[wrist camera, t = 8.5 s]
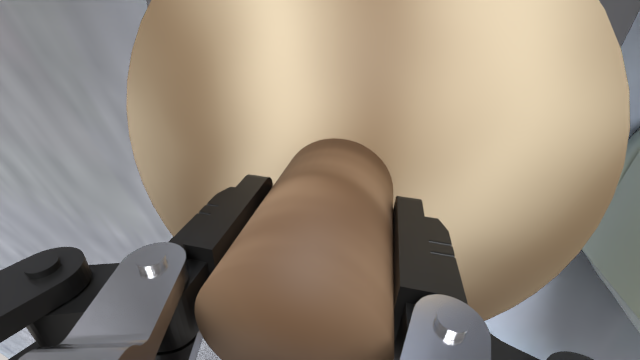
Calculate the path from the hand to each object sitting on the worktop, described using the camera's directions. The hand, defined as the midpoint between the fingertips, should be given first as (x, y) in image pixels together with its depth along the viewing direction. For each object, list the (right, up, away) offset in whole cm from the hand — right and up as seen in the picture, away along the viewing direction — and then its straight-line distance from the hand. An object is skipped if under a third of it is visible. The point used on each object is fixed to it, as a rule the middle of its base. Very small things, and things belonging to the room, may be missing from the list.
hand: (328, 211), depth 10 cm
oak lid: (+1, +1, +2) cm, 3 cm away
